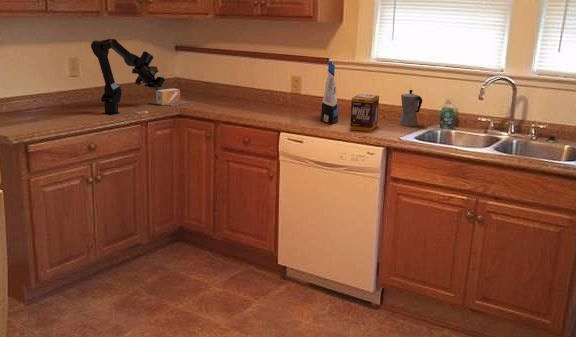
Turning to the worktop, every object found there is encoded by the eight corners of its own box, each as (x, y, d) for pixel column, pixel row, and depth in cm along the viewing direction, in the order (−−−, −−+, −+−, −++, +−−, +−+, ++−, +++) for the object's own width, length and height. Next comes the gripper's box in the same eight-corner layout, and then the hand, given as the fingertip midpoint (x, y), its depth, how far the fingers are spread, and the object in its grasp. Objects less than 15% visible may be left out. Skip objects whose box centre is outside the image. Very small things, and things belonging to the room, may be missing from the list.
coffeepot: (393, 123, 311) (395, 88, 306) (407, 121, 315) (409, 87, 310) (412, 128, 298) (415, 92, 293) (426, 127, 302) (429, 91, 297)
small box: (162, 91, 347) (180, 89, 356) (155, 90, 351) (173, 88, 361) (162, 105, 349) (180, 102, 359) (156, 103, 354) (174, 101, 363)
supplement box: (349, 129, 293) (351, 97, 289) (357, 124, 307) (359, 93, 303) (370, 131, 289) (372, 99, 285) (377, 125, 303) (379, 95, 299)
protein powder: (323, 124, 303) (325, 65, 295) (317, 116, 327) (319, 60, 319) (341, 124, 304) (344, 65, 296) (335, 116, 327) (337, 60, 319)
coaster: (141, 114, 321) (141, 113, 321) (131, 113, 325) (131, 112, 324) (150, 112, 327) (150, 111, 327) (141, 111, 330) (141, 110, 330)
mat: (171, 106, 349) (171, 105, 349) (148, 103, 358) (148, 102, 357) (189, 102, 362) (189, 102, 362) (166, 99, 371) (166, 99, 371)
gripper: (162, 62, 336) (176, 80, 348) (137, 60, 345) (152, 78, 357) (152, 78, 332) (167, 95, 344) (128, 75, 341) (143, 92, 353)
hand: (157, 90), depth 350 cm, fingers closed
